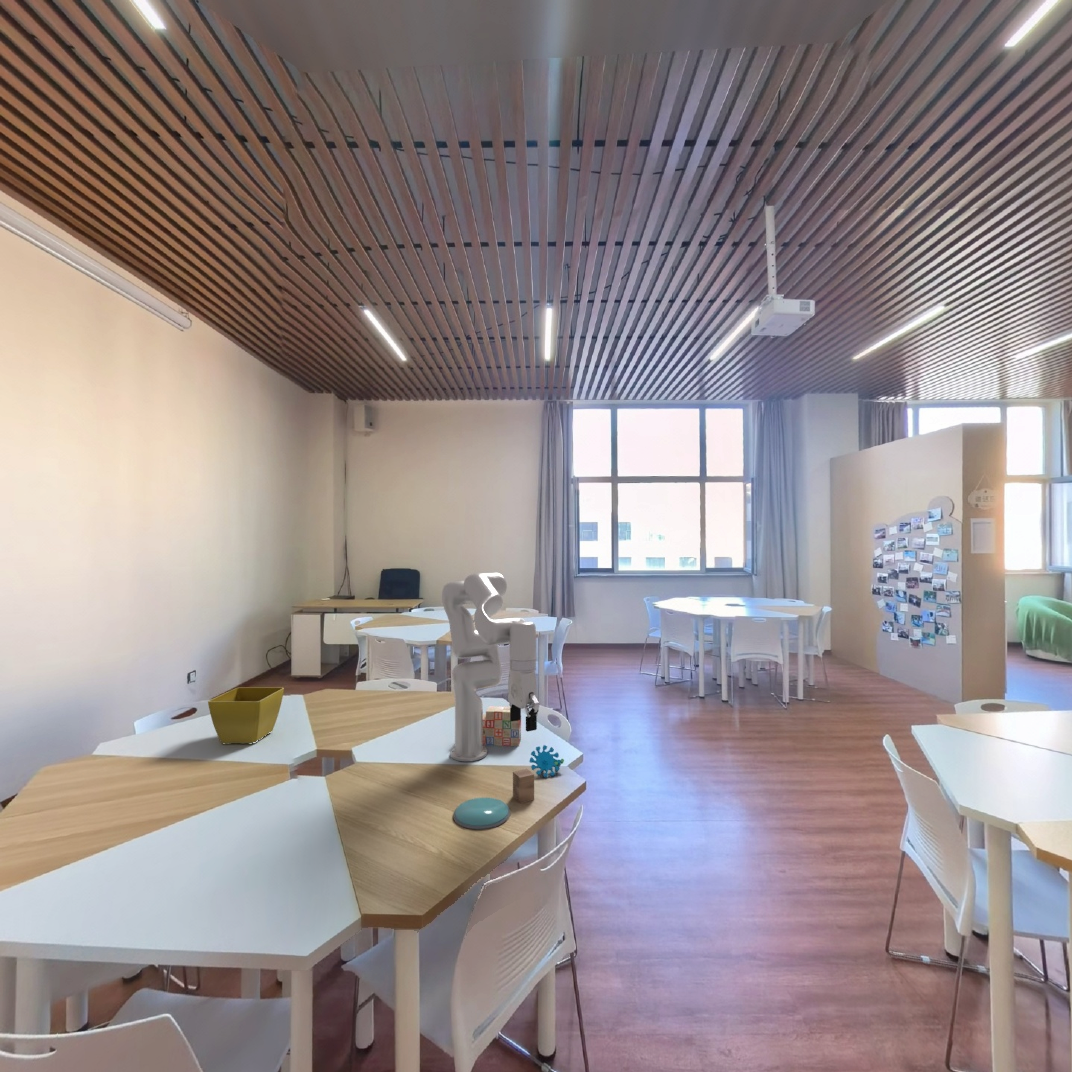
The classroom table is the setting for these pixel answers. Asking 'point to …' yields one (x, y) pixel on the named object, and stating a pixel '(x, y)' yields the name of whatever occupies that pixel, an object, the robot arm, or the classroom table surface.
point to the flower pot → (245, 713)
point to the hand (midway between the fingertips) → (523, 725)
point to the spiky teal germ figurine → (545, 761)
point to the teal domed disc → (481, 813)
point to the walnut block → (523, 785)
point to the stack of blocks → (500, 727)
